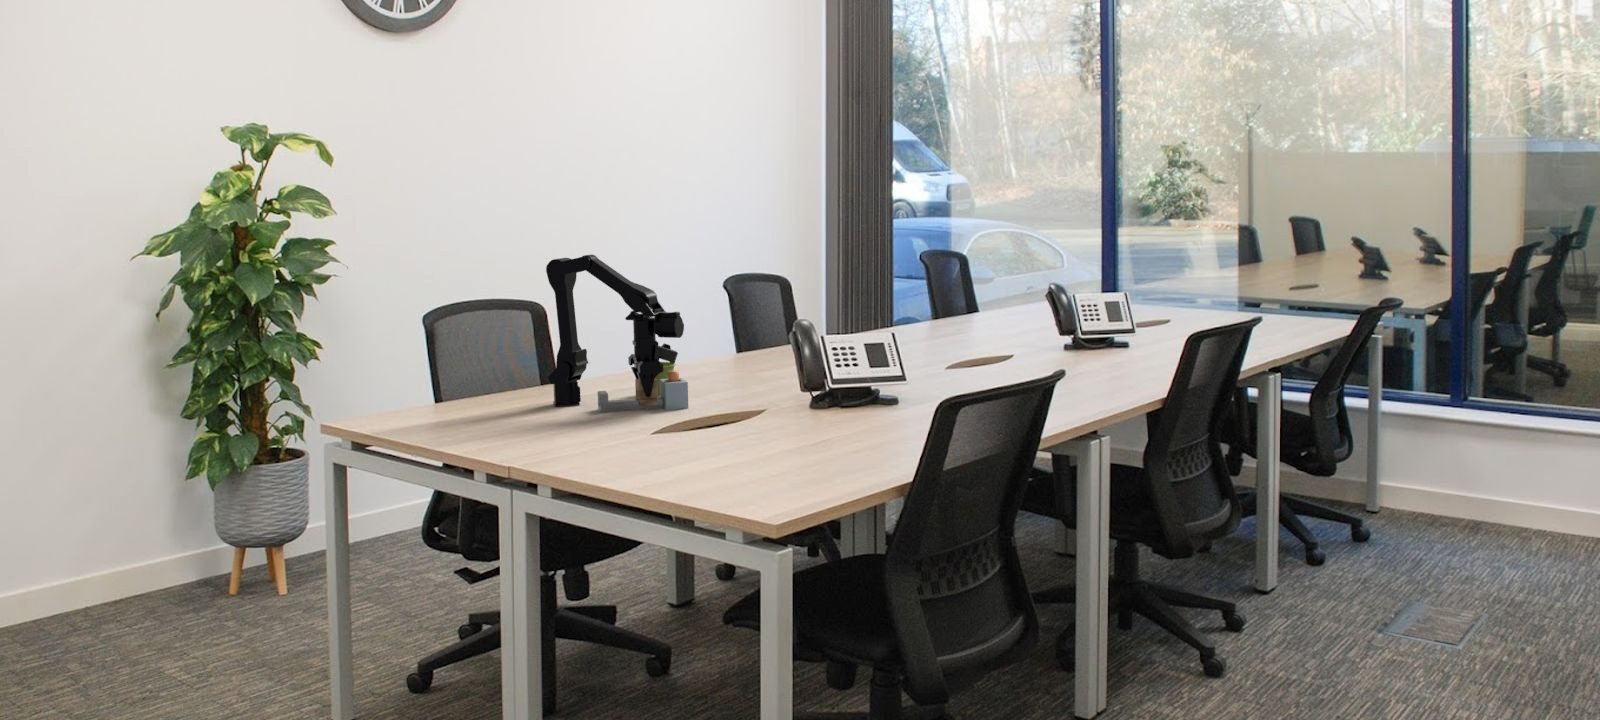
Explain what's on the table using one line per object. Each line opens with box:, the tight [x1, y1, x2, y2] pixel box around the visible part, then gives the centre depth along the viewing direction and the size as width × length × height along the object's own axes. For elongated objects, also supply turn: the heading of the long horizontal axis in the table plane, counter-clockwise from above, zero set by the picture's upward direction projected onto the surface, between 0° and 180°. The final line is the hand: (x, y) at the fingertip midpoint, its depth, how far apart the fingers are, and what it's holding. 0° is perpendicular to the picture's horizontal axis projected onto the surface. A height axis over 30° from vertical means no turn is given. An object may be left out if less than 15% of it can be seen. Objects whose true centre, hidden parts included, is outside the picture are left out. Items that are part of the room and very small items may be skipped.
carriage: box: [634, 378, 659, 406], centre depth 365 cm, size 5×5×6 cm
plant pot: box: [655, 361, 676, 397], centre depth 387 cm, size 9×9×9 cm
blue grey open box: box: [659, 377, 689, 411], centre depth 367 cm, size 6×8×7 cm
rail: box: [597, 390, 665, 414], centre depth 364 cm, size 18×5×5 cm, turn 106°
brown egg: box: [668, 370, 680, 382], centre depth 366 cm, size 3×3×4 cm
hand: (646, 395), depth 365 cm, fingers closed on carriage, 5 cm apart
